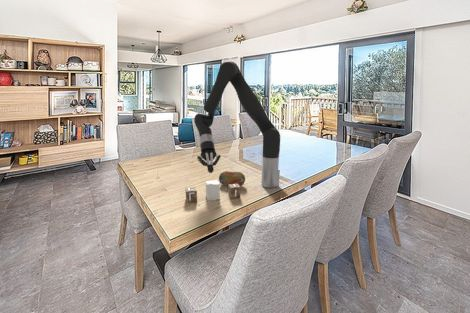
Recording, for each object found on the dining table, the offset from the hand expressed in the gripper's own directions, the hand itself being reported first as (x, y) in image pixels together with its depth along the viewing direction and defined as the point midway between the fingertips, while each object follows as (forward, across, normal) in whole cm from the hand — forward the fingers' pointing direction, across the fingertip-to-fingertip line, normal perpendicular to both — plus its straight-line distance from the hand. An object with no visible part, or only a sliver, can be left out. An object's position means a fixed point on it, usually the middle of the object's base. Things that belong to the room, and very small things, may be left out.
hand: (211, 172), depth 138 cm
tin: (+1, +14, +17) cm, 22 cm away
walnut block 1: (+12, +11, +5) cm, 17 cm away
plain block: (+11, 0, +6) cm, 13 cm away
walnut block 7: (+12, -11, +5) cm, 17 cm away
